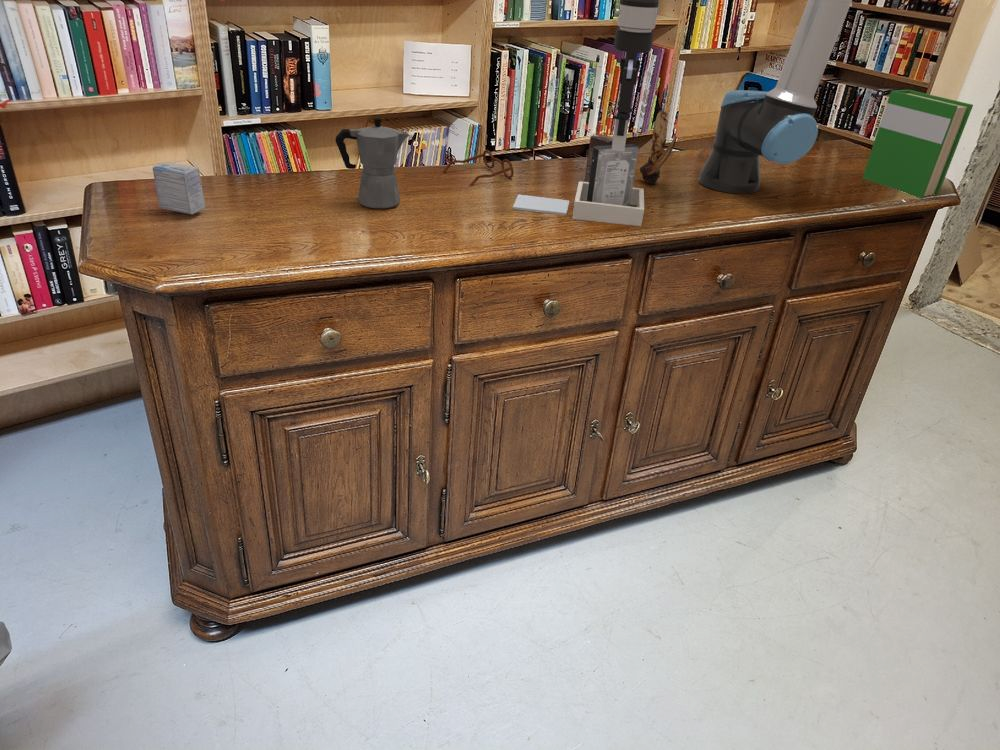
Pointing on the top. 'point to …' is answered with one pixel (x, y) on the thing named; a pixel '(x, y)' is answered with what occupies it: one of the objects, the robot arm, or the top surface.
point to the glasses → (486, 165)
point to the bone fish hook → (657, 150)
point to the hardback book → (916, 142)
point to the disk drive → (612, 175)
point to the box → (594, 141)
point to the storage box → (609, 208)
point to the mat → (541, 204)
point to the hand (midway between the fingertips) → (618, 146)
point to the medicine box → (178, 187)
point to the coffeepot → (375, 162)
